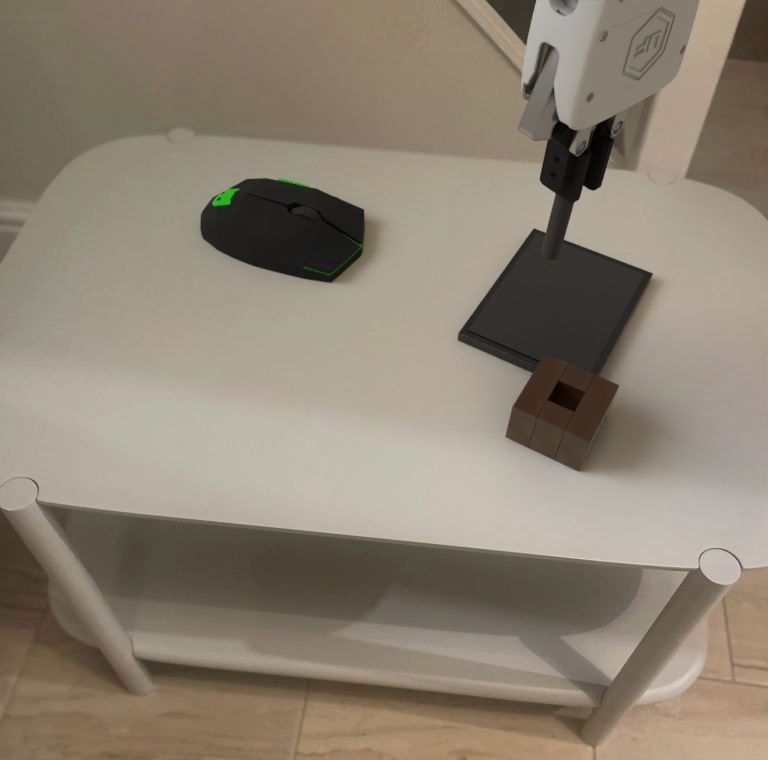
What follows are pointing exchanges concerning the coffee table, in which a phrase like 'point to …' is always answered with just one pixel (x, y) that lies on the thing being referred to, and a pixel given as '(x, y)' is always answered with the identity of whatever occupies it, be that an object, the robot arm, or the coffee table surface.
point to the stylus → (558, 222)
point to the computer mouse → (285, 228)
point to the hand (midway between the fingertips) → (569, 184)
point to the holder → (561, 411)
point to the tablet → (556, 307)
